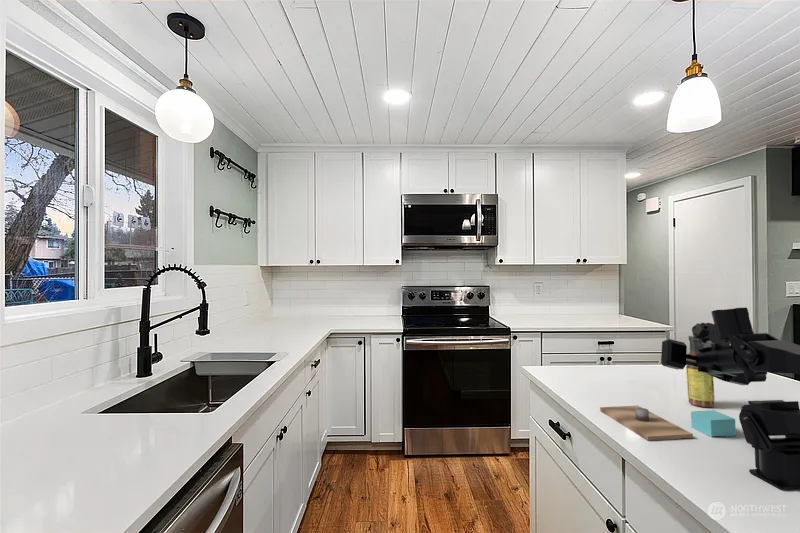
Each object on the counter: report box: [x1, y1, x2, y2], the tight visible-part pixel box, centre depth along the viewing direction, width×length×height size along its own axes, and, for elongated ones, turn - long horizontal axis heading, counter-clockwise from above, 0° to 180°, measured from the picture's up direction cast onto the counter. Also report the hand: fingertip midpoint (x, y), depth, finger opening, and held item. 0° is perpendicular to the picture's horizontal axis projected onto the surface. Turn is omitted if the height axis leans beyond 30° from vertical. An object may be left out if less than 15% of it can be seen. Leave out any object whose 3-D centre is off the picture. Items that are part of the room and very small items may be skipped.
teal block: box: [690, 409, 737, 437], centre depth 97 cm, size 6×6×4 cm
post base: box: [599, 404, 694, 442], centre depth 103 cm, size 20×11×4 cm, turn 3°
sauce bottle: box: [685, 334, 715, 408], centre depth 116 cm, size 6×6×20 cm
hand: (681, 364), depth 100 cm, fingers open, 9 cm apart
